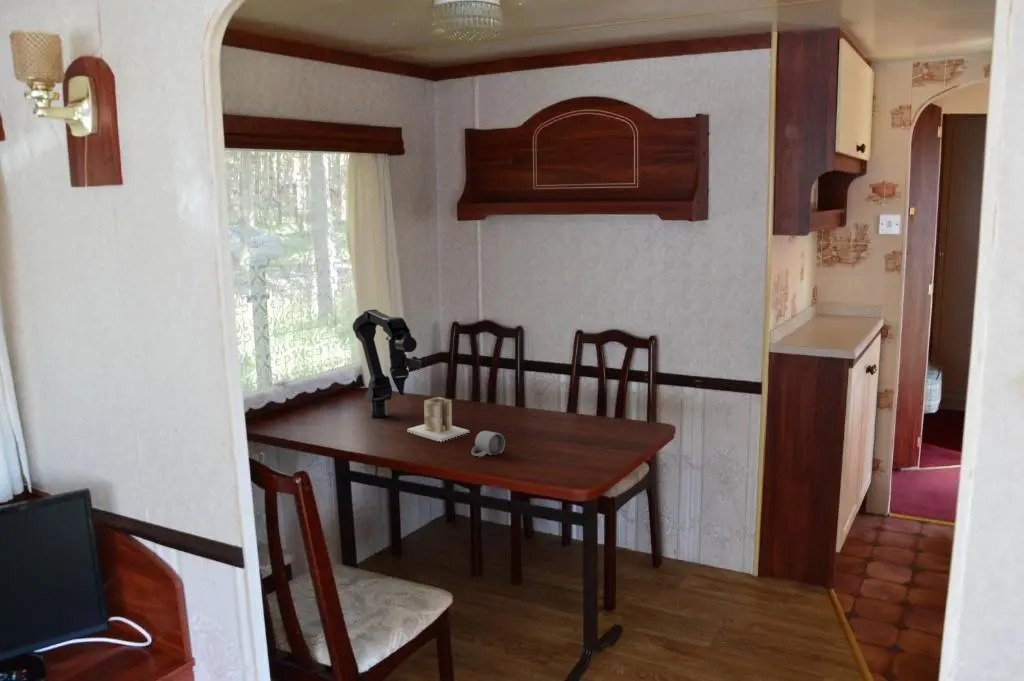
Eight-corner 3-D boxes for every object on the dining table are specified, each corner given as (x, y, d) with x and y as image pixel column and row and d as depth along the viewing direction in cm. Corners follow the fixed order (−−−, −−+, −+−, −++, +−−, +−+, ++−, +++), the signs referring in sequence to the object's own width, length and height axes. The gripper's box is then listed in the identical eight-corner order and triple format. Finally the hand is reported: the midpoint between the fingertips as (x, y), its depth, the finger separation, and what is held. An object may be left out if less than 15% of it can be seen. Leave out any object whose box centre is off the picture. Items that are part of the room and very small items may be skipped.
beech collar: (424, 429, 309) (424, 400, 307) (438, 425, 314) (438, 396, 312) (437, 433, 305) (437, 403, 303) (451, 429, 310) (451, 400, 308)
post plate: (407, 432, 311) (406, 418, 310) (435, 424, 321) (435, 410, 320) (441, 442, 299) (440, 427, 298) (469, 433, 309) (469, 419, 308)
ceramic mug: (489, 447, 292) (489, 426, 291) (505, 453, 287) (505, 431, 285) (465, 455, 285) (465, 433, 284) (481, 460, 280) (481, 438, 278)
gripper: (420, 351, 306) (424, 394, 308) (417, 348, 325) (421, 388, 326) (389, 354, 305) (393, 397, 306) (388, 351, 323) (391, 391, 324)
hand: (401, 393), depth 315 cm, fingers open, 9 cm apart
